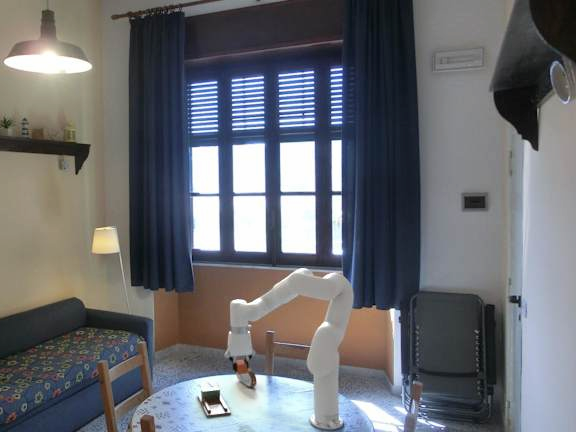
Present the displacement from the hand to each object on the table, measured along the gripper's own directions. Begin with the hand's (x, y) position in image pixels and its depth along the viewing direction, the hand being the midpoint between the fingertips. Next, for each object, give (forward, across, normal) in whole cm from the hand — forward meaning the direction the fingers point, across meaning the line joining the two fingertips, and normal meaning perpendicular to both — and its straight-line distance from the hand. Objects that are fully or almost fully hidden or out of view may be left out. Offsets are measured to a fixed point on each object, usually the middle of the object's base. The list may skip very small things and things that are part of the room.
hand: (240, 370), depth 216 cm
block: (0, 0, 0) cm, 0 cm away
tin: (+15, -8, -20) cm, 26 cm away
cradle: (+15, +12, -2) cm, 19 cm away
